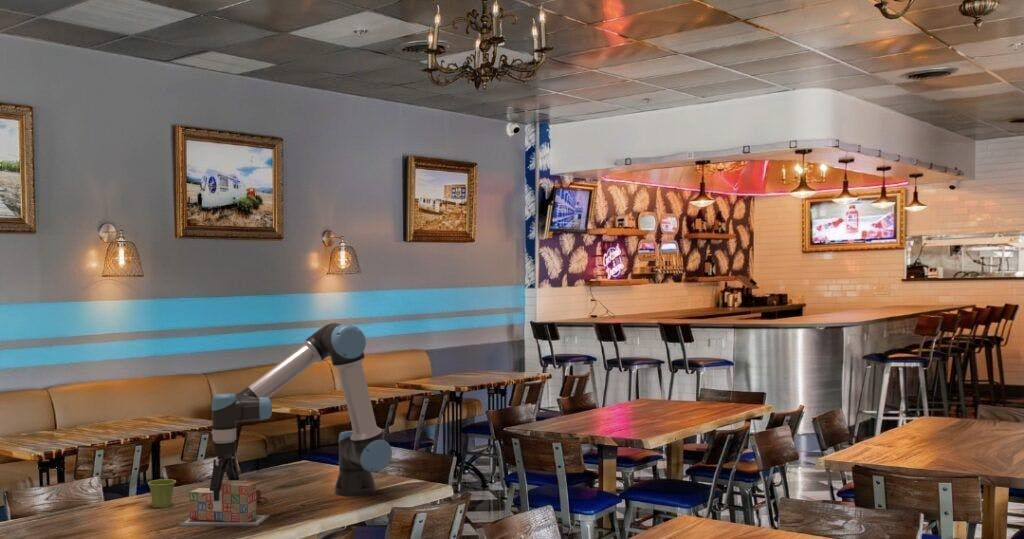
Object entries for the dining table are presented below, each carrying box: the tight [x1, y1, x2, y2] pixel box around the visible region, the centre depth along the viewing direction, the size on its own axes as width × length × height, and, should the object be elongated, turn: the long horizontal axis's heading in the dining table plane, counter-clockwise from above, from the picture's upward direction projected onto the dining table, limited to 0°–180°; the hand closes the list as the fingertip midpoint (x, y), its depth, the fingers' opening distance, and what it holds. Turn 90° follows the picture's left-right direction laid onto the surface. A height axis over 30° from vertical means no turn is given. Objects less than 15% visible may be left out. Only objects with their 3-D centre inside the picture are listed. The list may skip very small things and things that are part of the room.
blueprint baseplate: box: [178, 514, 271, 528], centre depth 322 cm, size 26×13×1 cm, turn 86°
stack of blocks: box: [188, 479, 258, 523], centre depth 322 cm, size 21×6×12 cm, turn 77°
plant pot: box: [147, 478, 177, 509], centre depth 346 cm, size 9×9×9 cm
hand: (225, 505), depth 322 cm, fingers open, 13 cm apart
